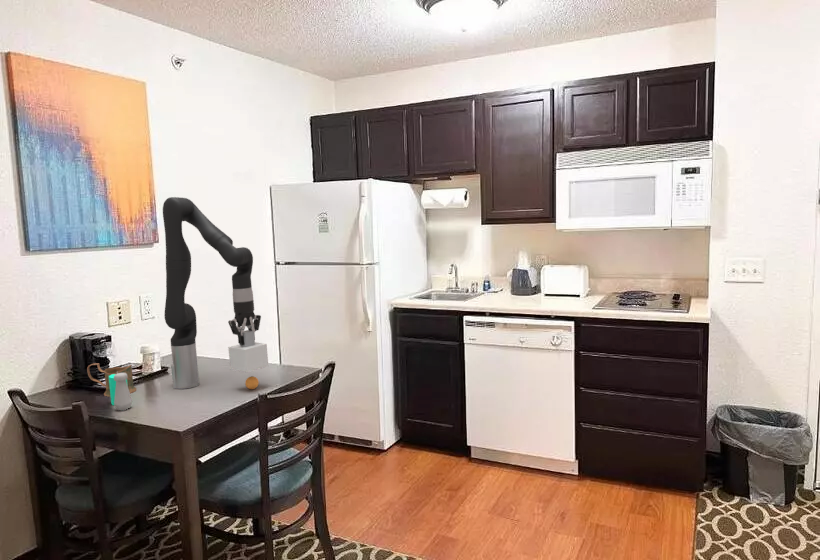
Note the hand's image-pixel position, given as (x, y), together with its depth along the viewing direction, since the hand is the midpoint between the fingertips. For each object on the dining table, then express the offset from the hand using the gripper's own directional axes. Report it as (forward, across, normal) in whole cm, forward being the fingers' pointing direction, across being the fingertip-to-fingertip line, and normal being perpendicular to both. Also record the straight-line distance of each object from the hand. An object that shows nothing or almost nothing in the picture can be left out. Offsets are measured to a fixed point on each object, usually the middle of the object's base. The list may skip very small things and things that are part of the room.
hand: (247, 343), depth 219 cm
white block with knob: (+10, 0, 0) cm, 10 cm away
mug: (+18, -31, +46) cm, 58 cm away
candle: (+18, -36, +30) cm, 50 cm away
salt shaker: (+18, -39, +21) cm, 48 cm away
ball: (+15, 0, -1) cm, 15 cm away
